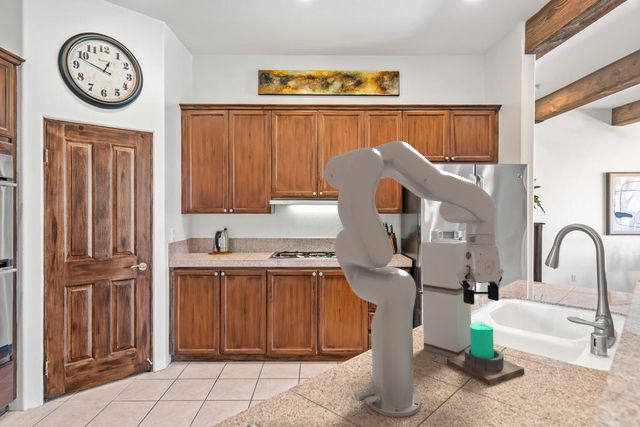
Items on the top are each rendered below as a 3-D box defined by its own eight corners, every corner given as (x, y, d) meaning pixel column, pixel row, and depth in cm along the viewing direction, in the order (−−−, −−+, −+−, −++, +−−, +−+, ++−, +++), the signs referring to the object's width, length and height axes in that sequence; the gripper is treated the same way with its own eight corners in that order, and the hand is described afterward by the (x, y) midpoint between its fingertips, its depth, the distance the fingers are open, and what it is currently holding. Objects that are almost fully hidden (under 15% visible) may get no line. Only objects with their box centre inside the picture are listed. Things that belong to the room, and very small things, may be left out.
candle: (497, 369, 91) (496, 325, 91) (473, 367, 92) (472, 324, 93) (490, 360, 97) (489, 318, 97) (468, 358, 98) (467, 317, 98)
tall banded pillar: (473, 349, 109) (470, 240, 109) (458, 359, 102) (455, 243, 102) (440, 340, 117) (437, 239, 117) (423, 348, 110) (421, 241, 110)
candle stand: (488, 385, 86) (488, 368, 86) (446, 364, 98) (446, 348, 98) (524, 373, 92) (523, 357, 92) (480, 354, 104) (479, 340, 104)
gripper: (469, 242, 88) (470, 308, 88) (513, 240, 95) (514, 301, 95) (447, 241, 95) (448, 302, 95) (490, 239, 102) (490, 295, 102)
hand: (481, 301), depth 95 cm, fingers open, 9 cm apart
